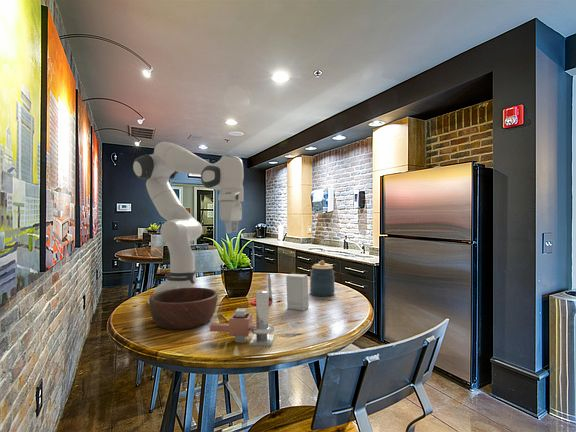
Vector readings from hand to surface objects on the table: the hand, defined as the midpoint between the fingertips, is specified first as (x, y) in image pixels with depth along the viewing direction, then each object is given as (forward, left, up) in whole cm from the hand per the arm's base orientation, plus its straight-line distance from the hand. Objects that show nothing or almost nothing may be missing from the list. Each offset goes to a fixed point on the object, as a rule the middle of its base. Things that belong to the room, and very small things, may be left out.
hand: (232, 232), depth 121 cm
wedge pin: (+8, -19, -34) cm, 40 cm away
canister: (+37, +45, -34) cm, 68 cm away
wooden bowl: (-18, -2, -34) cm, 39 cm away
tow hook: (+8, +25, -34) cm, 43 cm away
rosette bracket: (+8, -19, -34) cm, 40 cm away
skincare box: (+25, +18, -34) cm, 46 cm away
